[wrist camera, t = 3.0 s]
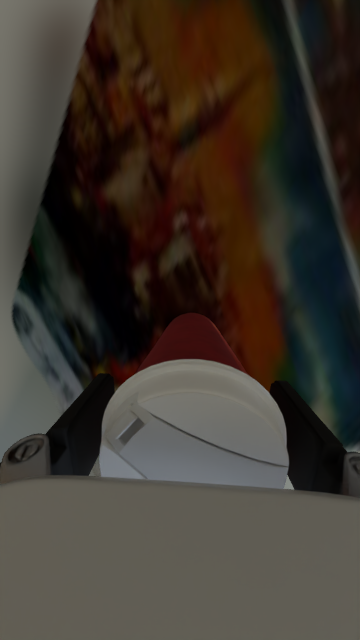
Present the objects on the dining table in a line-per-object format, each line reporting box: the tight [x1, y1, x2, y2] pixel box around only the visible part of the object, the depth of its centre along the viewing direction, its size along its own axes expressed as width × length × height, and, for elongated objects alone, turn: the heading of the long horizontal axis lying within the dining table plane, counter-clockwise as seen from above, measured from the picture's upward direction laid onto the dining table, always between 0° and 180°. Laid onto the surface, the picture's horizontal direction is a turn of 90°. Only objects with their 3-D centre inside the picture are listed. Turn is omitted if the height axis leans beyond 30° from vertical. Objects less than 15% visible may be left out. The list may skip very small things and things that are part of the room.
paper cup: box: [99, 313, 289, 489], centre depth 13 cm, size 8×8×14 cm
